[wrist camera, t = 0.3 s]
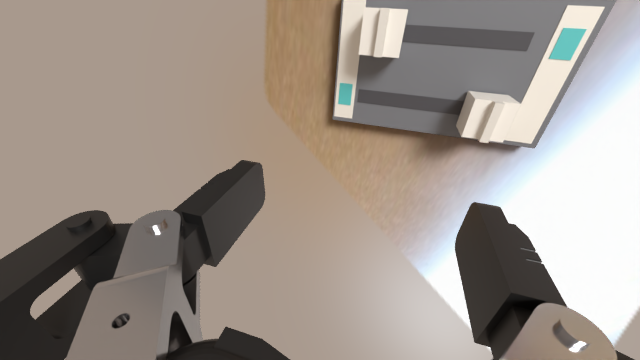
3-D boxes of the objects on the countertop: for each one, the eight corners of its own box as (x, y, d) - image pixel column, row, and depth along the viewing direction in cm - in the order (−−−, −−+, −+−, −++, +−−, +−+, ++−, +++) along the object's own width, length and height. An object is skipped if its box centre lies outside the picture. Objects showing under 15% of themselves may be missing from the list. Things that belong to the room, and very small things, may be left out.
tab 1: (368, 8, 27) (362, 6, 23) (408, 10, 26) (408, 8, 22) (363, 51, 29) (357, 55, 25) (399, 54, 28) (398, 59, 25)
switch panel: (346, -8, 28) (342, -10, 27) (601, 1, 24) (617, -1, 22) (335, 115, 36) (332, 119, 34) (527, 141, 31) (535, 148, 29)
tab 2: (468, 90, 28) (477, 100, 24) (508, 95, 27) (524, 106, 24) (455, 125, 30) (462, 139, 27) (493, 130, 29) (505, 145, 26)
